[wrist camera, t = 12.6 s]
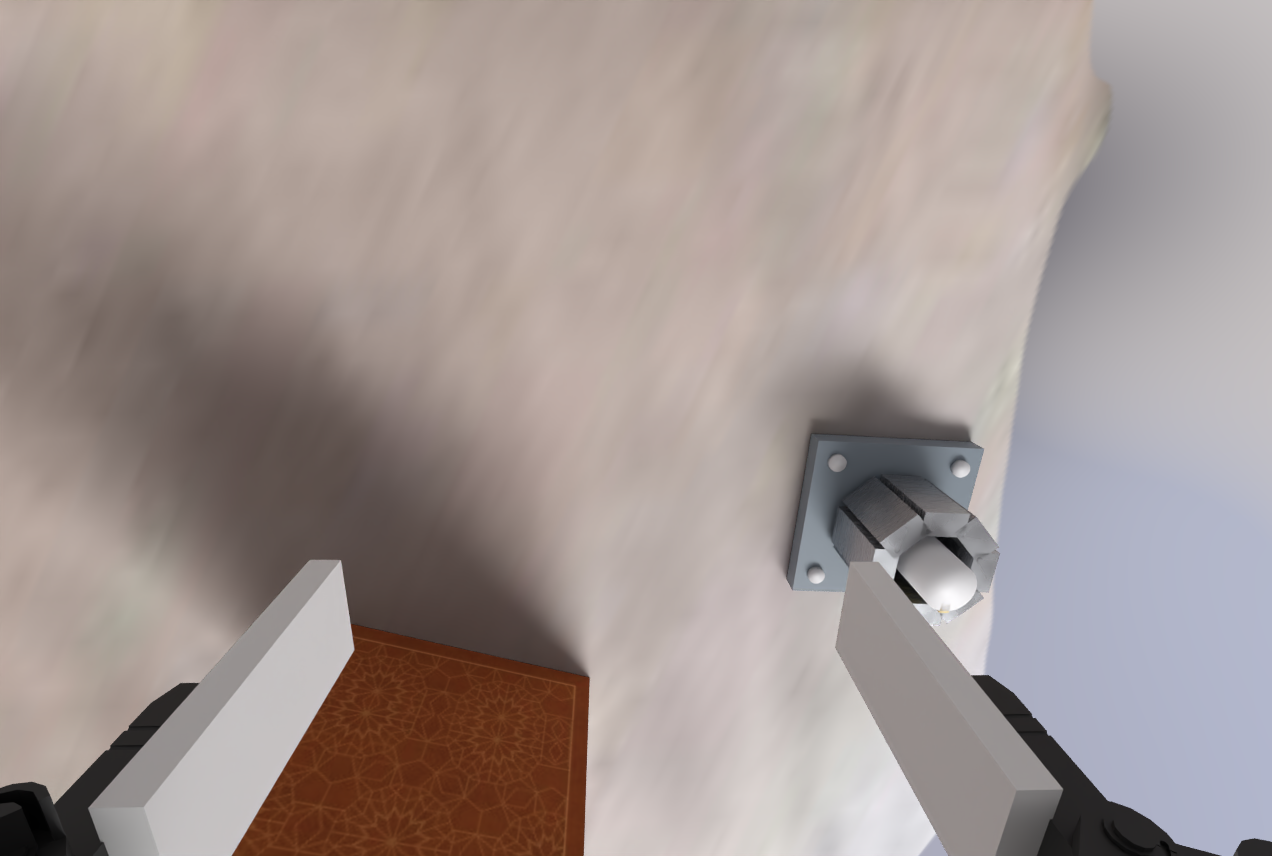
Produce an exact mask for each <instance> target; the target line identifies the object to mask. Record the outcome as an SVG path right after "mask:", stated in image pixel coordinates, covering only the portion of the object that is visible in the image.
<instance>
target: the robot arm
mask: <svg viewBox="0 0 1272 856" xmlns="http://www.w3.org/2000/svg"><path fill="white" fill-rule="evenodd" d="M835 648H836V650H837V651H838V653H839V655H840V657H841V659H842V661H843V663H844V664H845V666H846V668H847V670H848V672H849V674H850V675H851V677H852V679H853V681H854V683H855V685H856V686H857V688H858V690H859V692H860V694H861V696H862V698H863V699H864V701H865V703H866V705H867V707H868V709H869V710H870V712H871V714H872V716H873V718H874V720H875V721H876V723H877V725H878V727H879V729H880V731H881V732H882V734H883V736H884V738H885V740H886V742H887V744H888V745H889V747H890V749H891V751H892V753H893V755H894V756H895V758H896V760H897V762H898V764H899V766H900V767H901V769H902V771H903V773H904V775H905V777H906V778H907V780H908V782H909V784H910V786H911V788H912V790H913V791H914V793H915V795H916V797H917V799H918V801H919V802H920V804H921V806H922V808H923V810H924V812H925V813H926V815H927V817H928V819H929V821H930V823H931V825H932V826H933V828H934V830H935V832H936V834H937V836H938V837H939V839H940V841H941V842H942V845H943V847H944V848H945V850H946V852H947V854H948V856H1220V855H1216V854H1212V853H1209V852H1205V851H1201V850H1197V849H1193V848H1190V847H1186V846H1182V845H1179V844H1175V843H1174V842H1173V840H1172V839H1171V838H1170V837H1169V835H1168V834H1167V833H1166V832H1164V831H1163V830H1162V829H1161V828H1160V827H1158V826H1157V825H1156V824H1155V823H1154V822H1152V821H1151V820H1150V819H1148V818H1146V817H1145V816H1143V815H1141V814H1140V813H1138V812H1136V811H1134V810H1133V809H1131V808H1128V807H1125V806H1123V805H1120V804H1117V803H1114V802H1109V801H1107V800H1106V798H1105V797H1104V796H1103V795H1102V794H1101V793H1100V792H1099V790H1098V789H1097V788H1096V787H1095V786H1094V785H1093V783H1092V782H1091V781H1090V780H1089V779H1088V778H1087V777H1086V775H1084V773H1083V772H1082V771H1081V770H1080V769H1079V767H1077V765H1076V764H1075V763H1074V762H1073V761H1072V760H1071V758H1070V757H1069V756H1068V755H1067V754H1066V753H1065V751H1064V750H1063V749H1062V748H1061V747H1060V746H1059V745H1058V743H1057V742H1056V741H1055V740H1054V739H1053V738H1052V737H1051V736H1048V735H1047V731H1046V730H1045V728H1044V727H1043V726H1042V725H1041V724H1040V723H1039V722H1038V721H1037V719H1036V718H1033V717H1032V714H1031V713H1030V711H1029V710H1028V709H1027V708H1026V707H1025V706H1024V704H1022V702H1021V701H1020V700H1019V699H1018V698H1017V696H1016V695H1015V694H1014V693H1013V692H1011V691H1010V690H1009V689H1007V688H1006V687H1004V686H1003V685H1002V684H1000V683H999V682H997V681H996V680H995V679H993V678H992V677H991V676H989V675H970V674H969V673H968V671H967V670H966V669H965V668H964V666H963V665H962V664H961V663H960V661H959V660H958V659H957V658H956V657H955V655H954V654H953V653H952V652H951V650H950V649H949V648H948V647H947V645H946V644H945V643H944V642H943V641H942V639H941V638H940V637H939V636H938V634H937V633H936V632H935V631H934V629H933V628H932V627H931V626H930V625H929V623H928V622H927V621H926V620H925V618H924V617H923V616H922V615H921V613H920V612H919V611H918V610H917V608H916V607H915V606H914V605H913V604H912V602H911V601H910V600H909V599H908V597H907V596H906V595H905V594H904V592H903V591H902V590H901V589H900V588H899V586H898V585H897V584H896V583H895V581H894V580H893V579H892V578H891V576H890V575H889V574H888V573H887V572H886V570H885V569H884V568H883V567H882V565H881V564H880V563H879V562H850V566H849V572H848V578H847V584H846V589H845V595H844V601H843V606H842V612H841V618H840V624H839V629H838V635H837V641H836V647H835ZM353 651H354V644H353V637H352V630H351V624H350V617H349V610H348V604H347V597H346V590H345V584H344V577H343V570H342V564H341V560H309V561H308V562H307V563H306V564H305V566H304V567H303V568H302V569H301V570H300V571H299V572H298V573H297V575H296V576H295V577H294V578H293V579H292V580H291V581H290V582H289V584H288V585H287V586H286V587H285V588H284V589H283V590H282V591H281V593H280V594H279V595H278V596H277V597H276V598H275V599H274V600H273V601H272V603H271V604H270V605H269V606H268V607H267V608H266V609H265V610H264V612H263V613H262V614H261V615H260V616H259V617H258V618H257V619H256V621H255V622H254V623H253V624H252V625H251V626H250V627H249V628H248V630H247V631H246V632H245V633H244V634H243V635H242V636H241V637H240V638H239V640H238V641H237V642H236V643H235V644H234V645H233V646H232V647H231V649H230V650H229V651H228V652H227V653H226V654H225V655H224V656H223V658H222V659H221V660H220V661H219V662H218V663H217V664H216V665H215V667H214V668H213V669H212V670H211V671H210V672H209V673H208V674H207V675H206V677H205V678H204V679H203V680H202V681H201V682H200V683H180V684H179V685H177V686H176V687H174V688H173V689H171V690H170V691H168V692H167V693H165V694H164V695H162V696H161V697H159V698H158V699H156V700H155V701H153V702H152V703H151V704H150V705H149V706H148V707H147V708H146V709H145V710H144V711H143V712H142V713H141V714H140V715H139V716H138V717H137V718H136V719H135V720H134V721H133V722H132V723H131V725H130V726H129V729H128V731H124V732H123V733H122V734H121V735H120V736H119V737H118V738H117V739H116V740H115V741H114V742H113V743H112V744H111V745H110V746H111V747H110V749H109V750H106V751H105V752H104V753H103V754H102V755H101V756H100V757H99V758H98V759H97V760H96V761H95V762H94V763H93V764H92V765H91V766H90V767H89V768H88V769H87V771H86V772H85V773H84V774H83V775H82V776H81V777H80V778H79V779H78V780H77V781H76V782H75V783H74V784H73V785H72V786H71V787H70V788H69V789H68V790H67V791H66V792H65V794H64V795H63V796H62V797H61V798H60V799H59V800H58V801H57V802H56V803H55V804H53V802H52V799H51V797H50V794H49V792H48V790H47V788H46V786H44V785H41V784H37V783H34V782H28V783H18V784H11V785H8V786H5V787H2V788H0V856H232V854H233V853H234V851H235V849H236V848H237V846H238V844H239V843H240V841H241V839H242V838H243V836H244V834H245V833H246V831H247V829H248V827H249V826H250V824H251V822H252V821H253V819H254V817H255V816H256V814H257V812H258V811H259V809H260V807H261V806H262V804H263V802H264V801H265V799H266V797H267V796H268V794H269V792H270V791H271V789H272V787H273V786H274V784H275V782H276V781H277V779H278V777H279V776H280V774H281V772H282V770H283V769H284V767H285V765H286V764H287V762H288V760H289V759H290V757H291V755H292V754H293V752H294V750H295V749H296V747H297V745H298V744H299V742H300V740H301V739H302V737H303V735H304V734H305V732H306V730H307V729H308V727H309V725H310V724H311V722H312V720H313V719H314V717H315V715H316V713H317V712H318V710H319V708H320V707H321V705H322V703H323V702H324V700H325V698H326V697H327V695H328V693H329V692H330V690H331V688H332V687H333V685H334V683H335V682H336V680H337V678H338V677H339V675H340V673H341V672H342V670H343V668H344V667H345V665H346V663H347V661H348V660H349V658H350V656H351V655H352V653H353ZM1234 856H1272V842H1270V841H1265V840H1259V839H1255V838H1254V839H1249V840H1244V841H1241V843H1240V845H1239V846H1238V848H1237V850H1236V852H1235V854H1234Z"/></svg>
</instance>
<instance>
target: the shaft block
mask: <svg viewBox="0 0 1272 856" xmlns="http://www.w3.org/2000/svg"><path fill="white" fill-rule="evenodd" d="M983 451H984V449H983V448H982V447H980V446H978V445H976V444H974V443H973V442H964V441H944V440H925V439H905V438H885V437H866V436H846V435H827V434H811V440H810V446H809V451H808V457H807V463H806V469H805V475H804V481H803V486H802V492H801V498H800V504H799V510H798V516H797V521H796V527H795V533H794V539H793V545H792V551H791V557H790V562H789V568H788V574H787V581H788V583H789V585H790V587H791V588H792V590H799V591H830V592H845V589H846V584H847V578H848V572H849V568H848V566H847V565H846V564H845V562H844V561H843V560H842V558H841V557H840V556H839V554H838V553H837V552H836V550H835V549H834V547H833V546H834V544H833V543H832V536H833V530H834V525H835V520H836V515H837V510H838V506H846V505H845V504H844V502H843V501H842V500H843V499H844V498H846V497H847V496H848V495H850V494H851V493H852V492H854V491H855V490H856V489H858V488H859V487H860V486H862V485H863V484H864V483H866V482H867V481H868V480H870V479H871V478H872V477H874V476H875V477H876V478H877V479H879V480H880V476H881V474H898V475H919V476H921V477H922V478H923V479H924V478H925V479H927V480H928V481H929V482H931V483H932V484H933V485H935V486H936V487H937V488H939V489H940V490H941V491H943V492H944V493H945V494H947V495H948V496H949V497H951V498H952V499H953V500H955V501H956V502H957V503H959V504H960V505H961V506H962V507H964V508H965V509H966V510H968V507H969V503H970V500H971V496H972V492H973V488H974V485H975V481H976V477H977V474H978V470H979V466H980V462H981V459H982V455H983ZM896 569H897V570H898V571H899V572H900V573H901V574H902V575H903V576H904V578H905V579H906V580H907V581H908V582H909V583H910V584H911V586H912V587H913V588H914V589H915V590H916V591H917V592H918V594H919V595H920V596H921V597H922V598H923V599H924V600H925V601H926V603H927V604H928V605H929V606H930V607H932V608H933V609H935V610H937V611H938V612H939V613H949V611H952V610H956V609H958V608H960V607H962V606H964V605H965V604H966V603H968V602H969V601H970V600H971V598H972V597H973V595H974V594H975V591H976V588H977V579H976V576H975V574H974V573H973V571H972V570H971V569H970V568H968V567H967V566H966V565H965V564H964V563H963V562H962V561H961V560H960V559H959V558H957V557H956V556H955V555H954V554H953V553H952V552H951V551H950V550H949V549H948V548H946V547H945V546H944V545H943V544H942V543H941V542H940V541H939V540H938V539H937V538H935V537H934V536H926V537H924V538H923V539H922V540H920V541H919V542H918V543H916V544H915V545H913V546H912V547H911V548H909V549H908V550H906V551H905V552H904V553H902V554H901V555H900V556H899V559H898V563H897V568H896Z"/></svg>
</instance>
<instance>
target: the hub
mask: <svg viewBox="0 0 1272 856" xmlns="http://www.w3.org/2000/svg"><path fill="white" fill-rule="evenodd" d="M842 501H843V502H844V504H845V505H846V506H838V510H837V515H836V520H835V525H834V530H833V536H832V543H833V544H834V546H833V547H834V549H835V550H836V552H837V553H838V554H839V556H840V557H841V558H842V560H843V561H844V562H845V564H846V565H847V566H848V568H849V566H850V562H879V563H880V564H881V565H882V567H883V568H884V569H885V570H886V572H887V573H888V574H889V575H890V576H891V578H892V579H893V580H894V581H895V583H896V584H897V585H898V586H899V588H900V589H901V590H902V591H903V592H904V594H905V595H906V596H907V597H908V599H909V600H910V601H911V602H912V604H913V605H914V606H915V607H916V608H917V610H918V611H919V612H920V613H921V615H922V616H923V617H924V618H925V620H926V621H927V622H928V623H929V625H930V626H940V624H941V620H942V618H943V620H944V621H945V622H946V623H949V622H950V621H952V620H953V619H954V618H956V617H957V616H959V615H960V614H962V613H963V612H965V611H966V610H968V609H969V608H970V607H972V606H973V605H975V604H976V603H978V602H979V601H981V600H982V599H984V598H983V596H982V595H981V594H980V592H989V589H990V586H991V582H992V579H993V575H994V572H995V569H996V565H997V562H998V559H999V555H1000V553H999V552H997V551H996V549H997V548H999V546H998V545H997V544H996V542H995V541H994V540H993V538H992V537H991V536H990V534H989V533H988V532H987V530H986V529H985V528H984V526H983V525H982V524H981V522H980V521H979V520H978V518H977V517H976V516H974V515H973V514H972V513H970V512H969V511H968V510H966V509H965V508H964V507H962V506H961V505H960V504H959V503H957V502H956V501H955V500H953V499H952V498H951V497H949V496H948V495H947V494H945V493H944V492H943V491H941V490H940V489H939V488H937V487H936V486H935V485H933V484H932V483H931V482H929V481H928V480H927V479H925V478H924V479H923V478H922V477H921V476H919V475H898V474H881V476H880V480H879V479H877V478H876V477H875V476H874V477H872V478H871V479H870V480H868V481H867V482H866V483H864V484H863V485H862V486H860V487H859V488H858V489H856V490H855V491H854V492H852V493H851V494H850V495H848V496H847V497H846V498H844V499H843V500H842ZM926 536H934V537H935V538H937V539H938V540H939V541H940V542H941V543H942V544H943V545H944V546H945V547H946V548H948V549H949V550H950V551H951V552H952V553H953V554H954V555H955V556H956V557H957V558H959V559H960V560H961V561H962V562H963V563H964V564H965V565H966V566H967V567H968V568H970V569H971V570H972V571H973V573H974V574H975V576H976V579H977V588H976V591H975V594H974V595H973V597H972V598H971V600H970V601H969V602H968V603H966V604H965V605H964V606H962V607H960V608H958V609H956V610H952V611H949V613H939V612H938V611H937V610H935V609H933V608H932V607H930V606H929V605H928V604H927V603H926V601H925V600H924V599H923V598H922V597H921V596H920V595H919V594H918V592H917V591H916V590H915V589H914V588H913V587H912V586H911V584H910V583H909V582H908V581H907V580H906V579H905V578H904V576H903V575H902V574H901V573H900V572H899V571H898V570H897V569H896V568H897V563H898V559H899V556H900V555H901V554H902V553H904V552H905V551H906V550H908V549H909V548H911V547H912V546H913V545H915V544H916V543H918V542H919V541H920V540H922V539H923V538H924V537H926Z"/></svg>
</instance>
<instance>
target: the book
mask: <svg viewBox="0 0 1272 856" xmlns="http://www.w3.org/2000/svg"><path fill="white" fill-rule="evenodd" d="M351 630H352V637H353V644H354V651H353V653H352V655H351V656H350V658H349V660H348V661H347V663H346V665H345V667H344V668H343V670H342V672H341V673H340V675H339V677H338V678H337V680H336V682H335V683H334V685H333V687H332V688H331V690H330V692H329V693H328V695H327V697H326V698H325V700H324V702H323V703H322V705H321V707H320V708H319V710H318V712H317V713H316V715H315V717H314V719H313V720H312V722H311V724H310V725H309V727H308V729H307V730H306V732H305V734H304V735H303V737H302V739H301V740H300V742H299V744H298V745H297V747H296V749H295V750H294V752H293V754H292V755H291V757H290V759H289V760H288V762H287V764H286V765H285V767H284V769H283V770H282V772H281V774H280V776H279V777H278V779H277V781H276V782H275V784H274V786H273V787H272V789H271V791H270V792H269V794H268V796H267V797H266V799H265V801H264V802H263V804H262V806H261V807H260V809H259V811H258V812H257V814H256V816H255V817H254V819H253V821H252V822H251V824H250V826H249V827H248V829H247V831H246V833H245V834H244V836H243V838H242V839H241V841H240V843H239V844H238V846H237V848H236V849H235V851H234V853H233V854H232V856H584V829H585V800H586V770H587V740H588V710H589V680H590V678H589V677H585V676H580V675H576V674H572V673H567V672H563V671H558V670H554V669H549V668H545V667H541V666H536V665H532V664H527V663H523V662H518V661H514V660H509V659H505V658H501V657H496V656H492V655H487V654H483V653H478V652H474V651H469V650H465V649H461V648H456V647H452V646H447V645H443V644H438V643H434V642H429V641H425V640H421V639H416V638H412V637H407V636H403V635H398V634H394V633H389V632H385V631H381V630H376V629H372V628H367V627H363V626H358V625H354V624H351Z"/></svg>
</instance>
